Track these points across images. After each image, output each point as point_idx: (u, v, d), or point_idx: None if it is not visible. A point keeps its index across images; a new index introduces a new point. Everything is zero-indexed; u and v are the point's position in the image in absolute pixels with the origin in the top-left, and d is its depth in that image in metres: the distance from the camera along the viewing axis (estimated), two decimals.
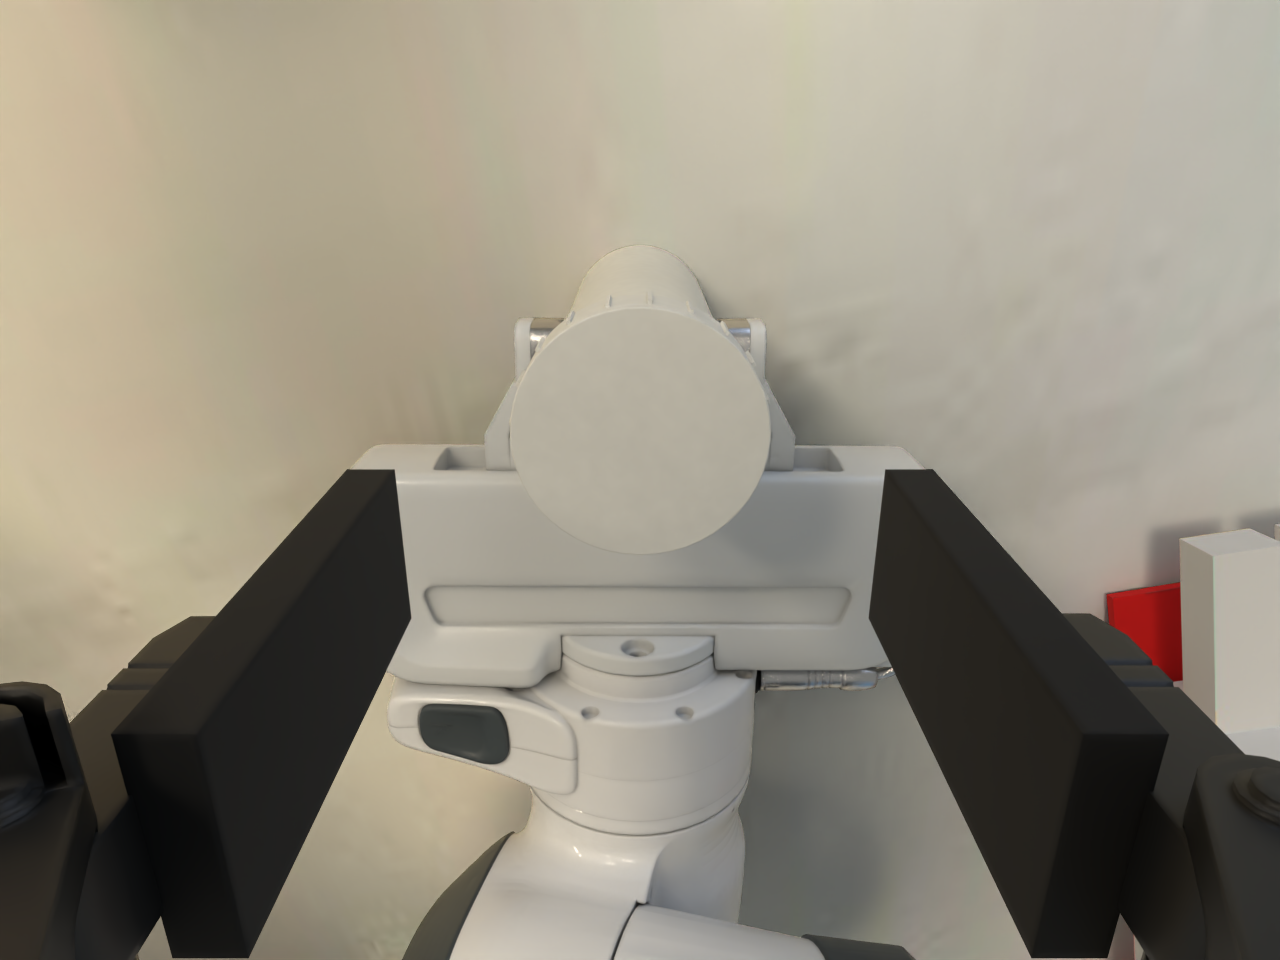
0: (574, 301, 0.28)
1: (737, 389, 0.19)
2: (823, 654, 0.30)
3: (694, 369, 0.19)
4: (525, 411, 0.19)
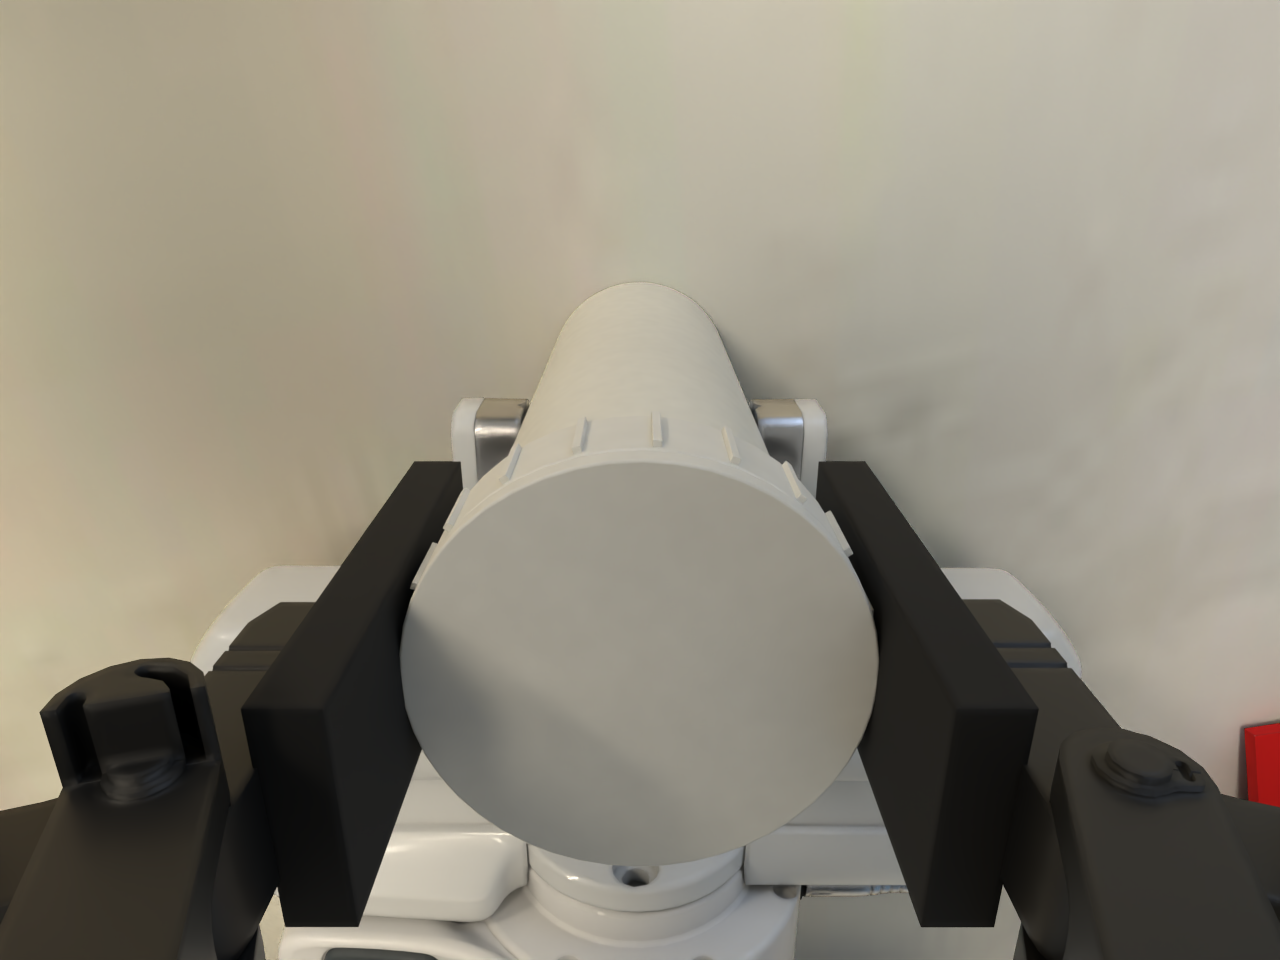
0: (544, 371, 0.20)
1: (821, 603, 0.10)
2: (899, 868, 0.21)
3: (741, 569, 0.10)
4: (426, 640, 0.10)
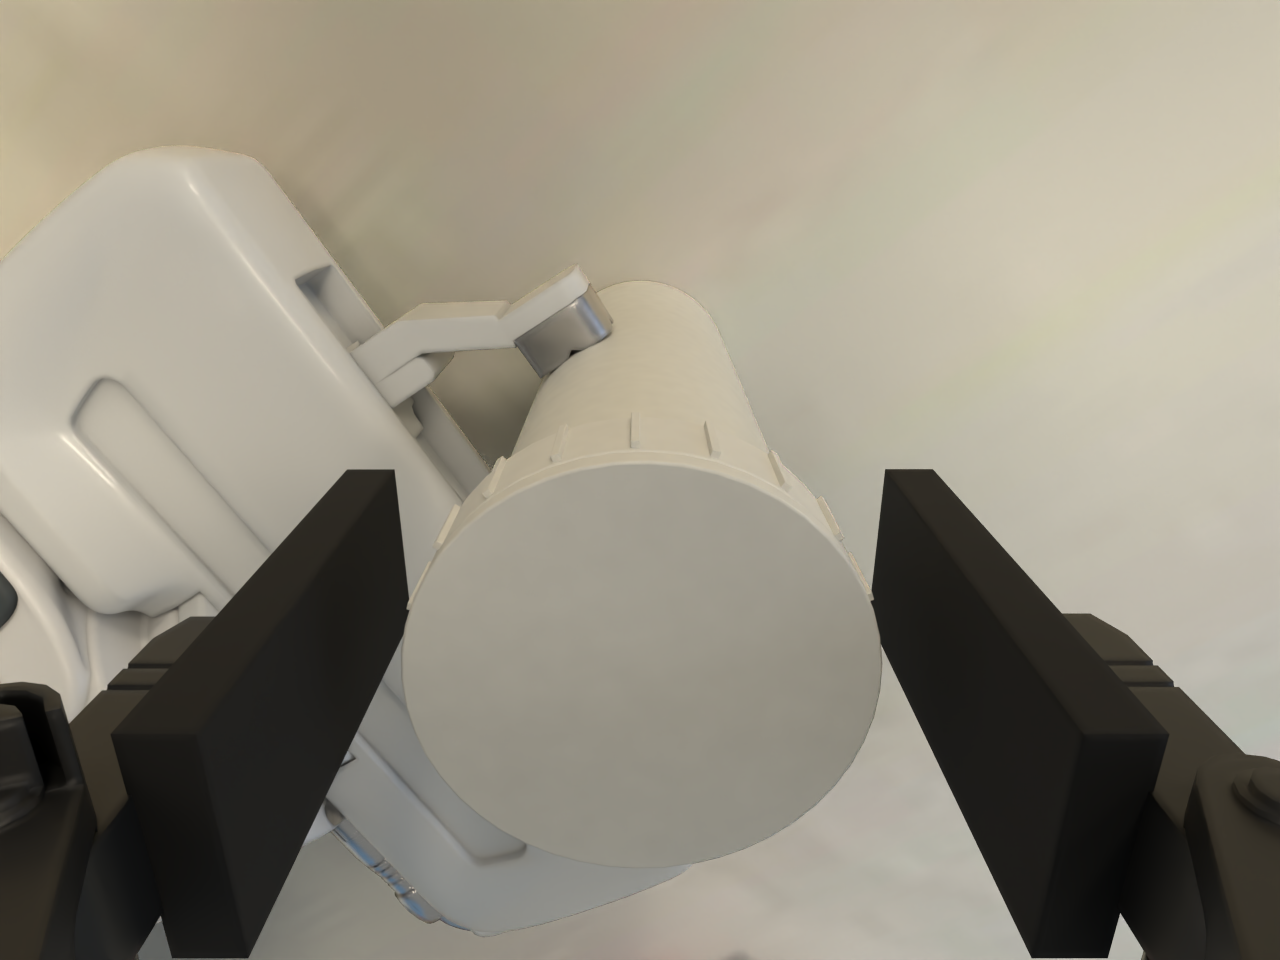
0: (636, 314, 0.19)
1: (651, 505, 0.10)
2: (429, 876, 0.21)
3: (575, 552, 0.10)
4: (500, 807, 0.11)
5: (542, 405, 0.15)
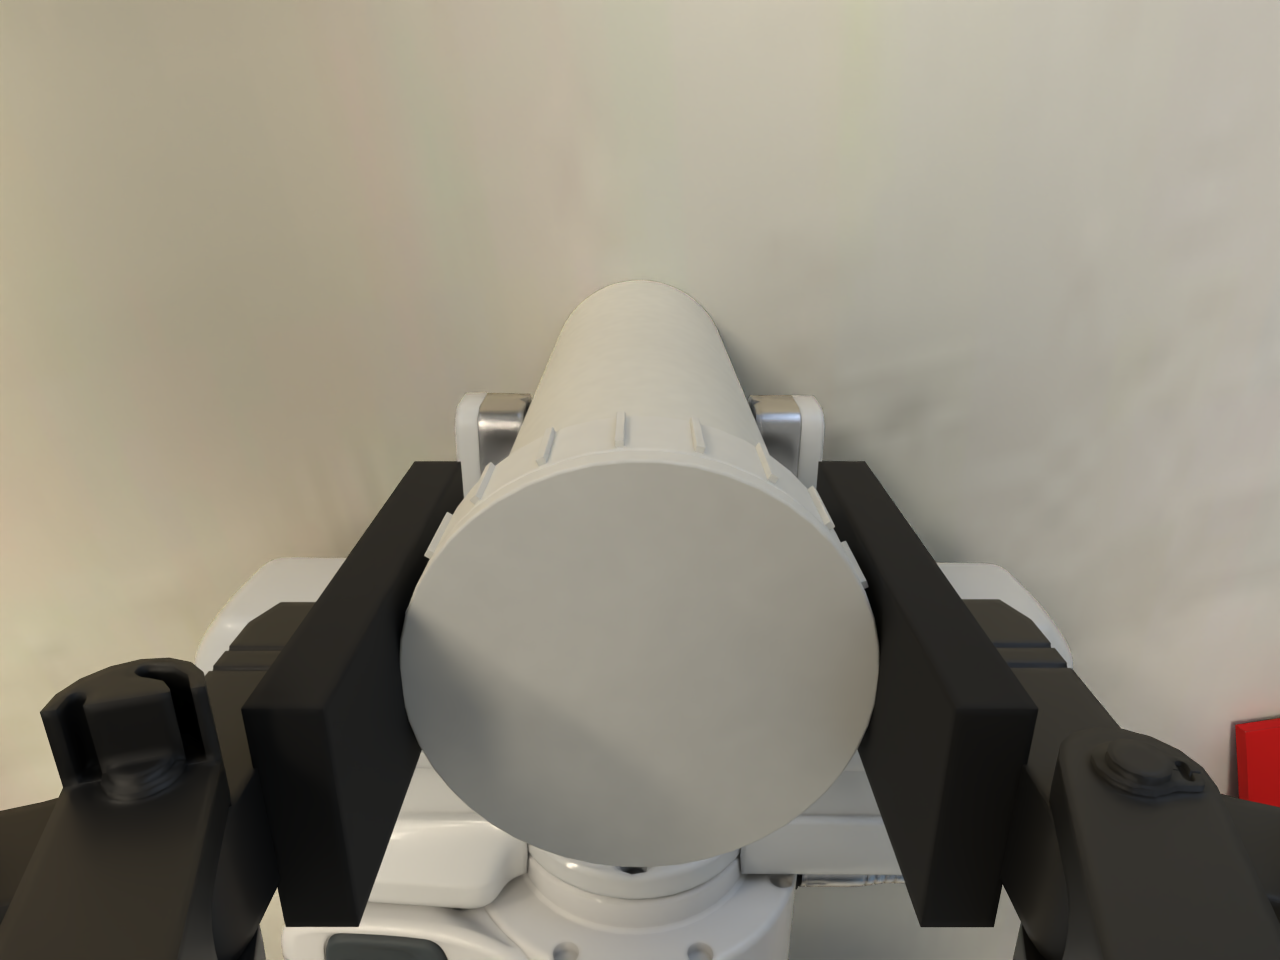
0: (546, 367, 0.20)
1: (470, 583, 0.10)
2: (893, 857, 0.21)
3: (478, 660, 0.10)
4: (682, 846, 0.11)
5: None
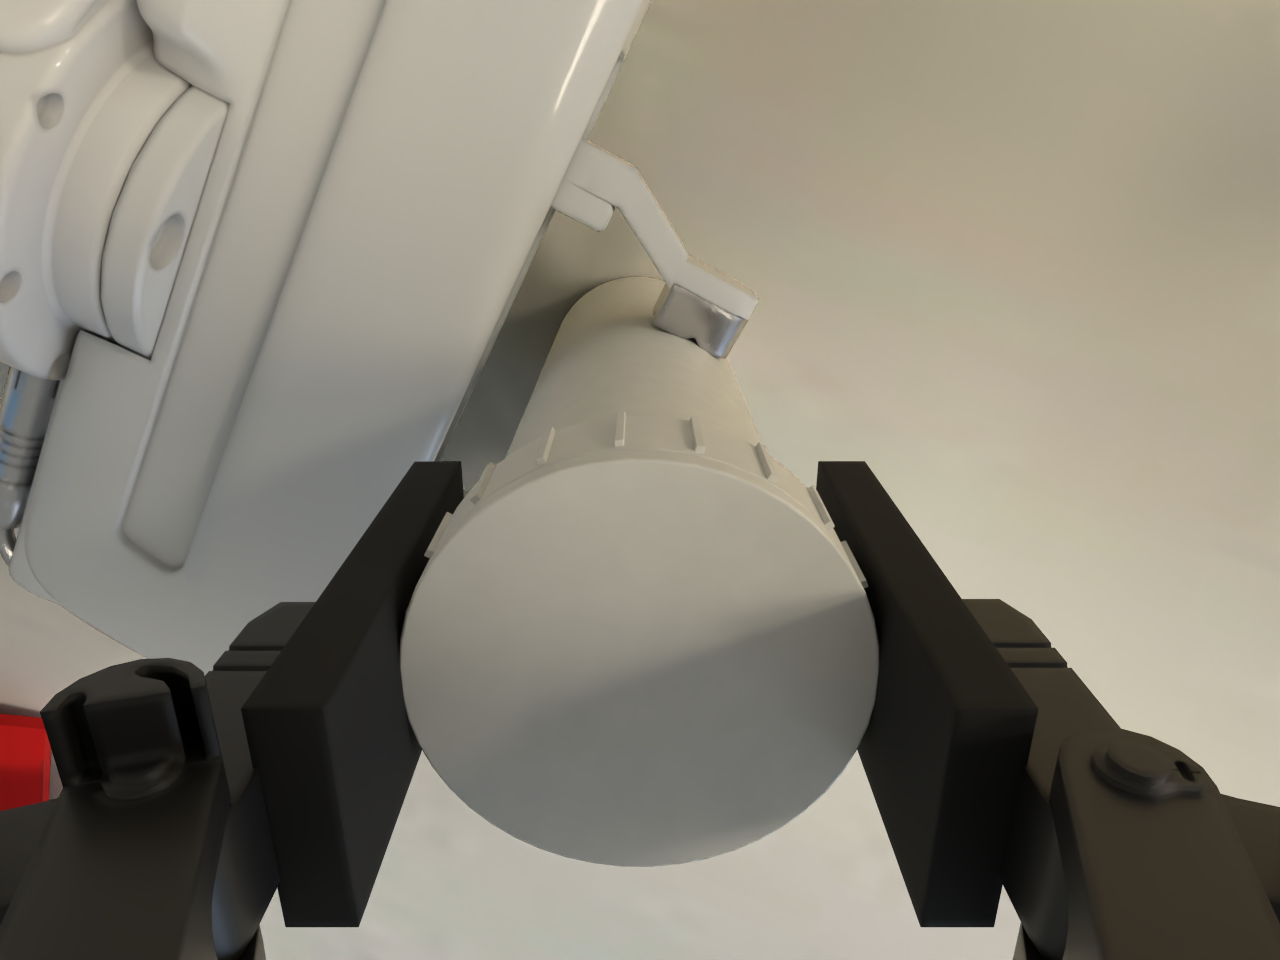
0: None
1: (470, 582, 0.10)
2: (67, 501, 0.18)
3: (478, 660, 0.10)
4: (682, 846, 0.11)
5: (672, 362, 0.15)
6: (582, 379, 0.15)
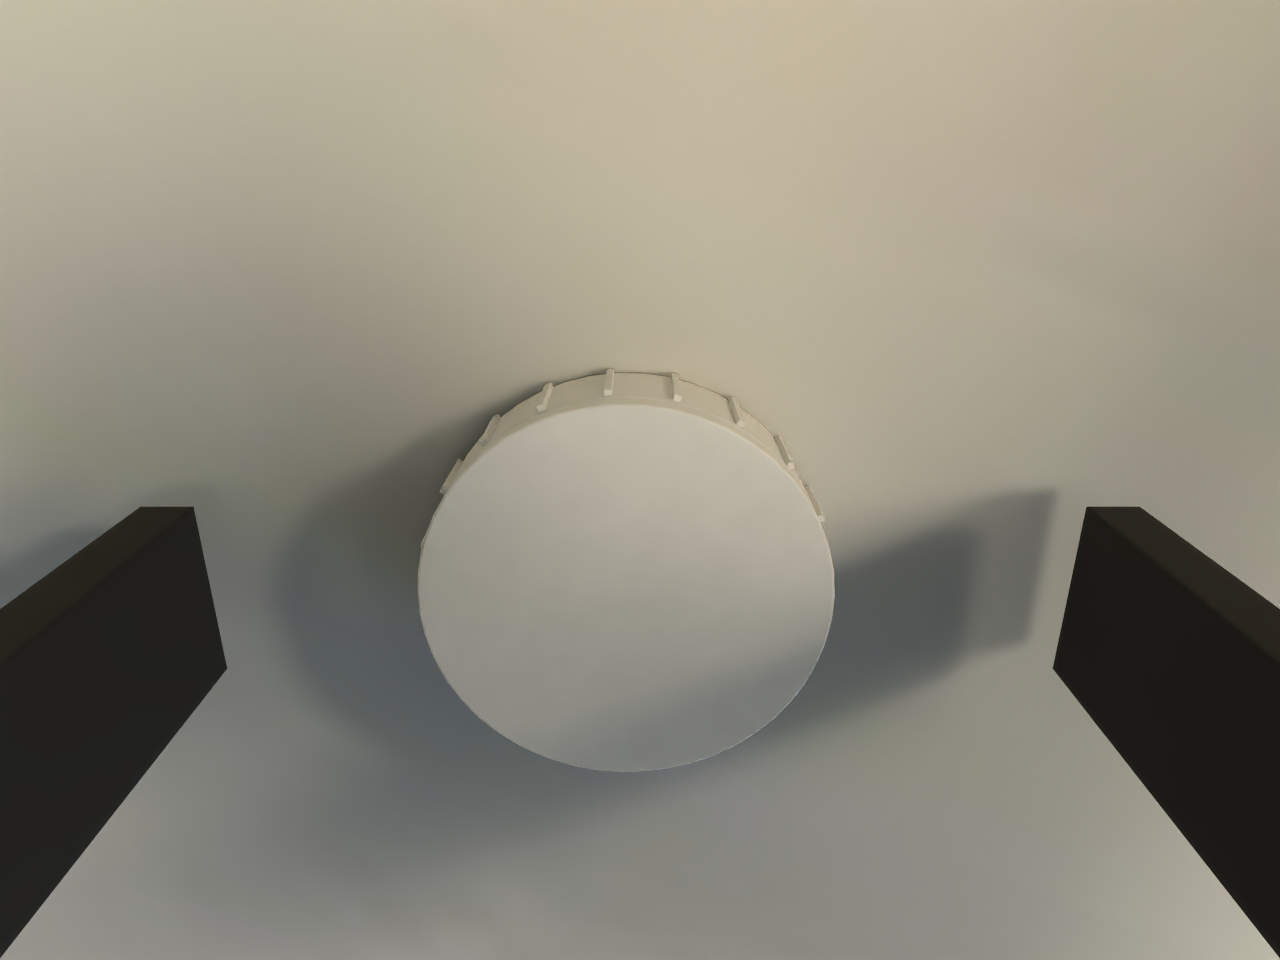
0: None
1: (479, 513, 0.11)
2: None
3: (486, 582, 0.12)
4: (664, 753, 0.13)
5: None
6: None
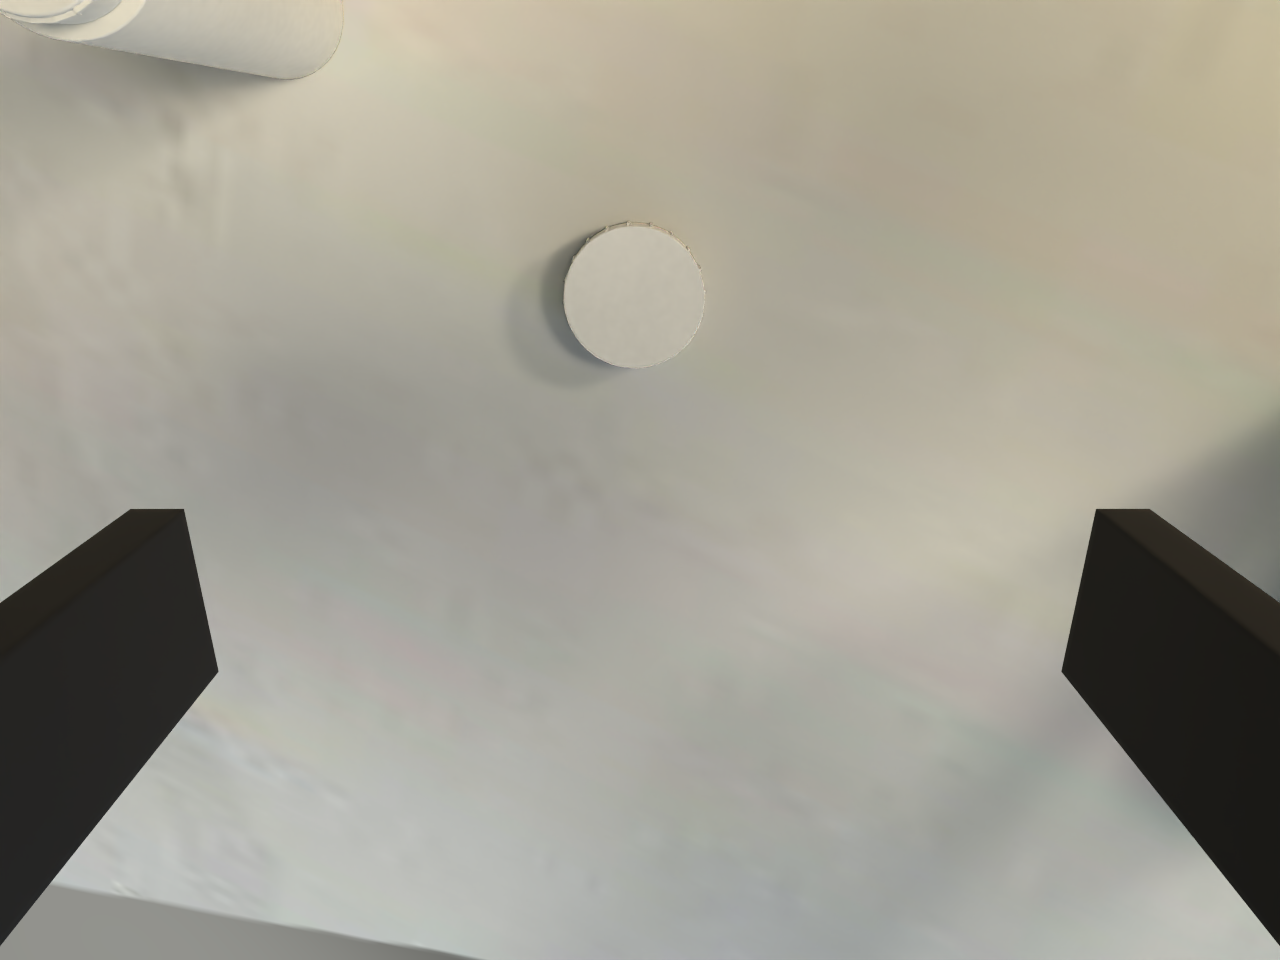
0: None
1: (586, 264, 0.35)
2: None
3: (587, 290, 0.35)
4: (647, 360, 0.36)
5: None
6: None
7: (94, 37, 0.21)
